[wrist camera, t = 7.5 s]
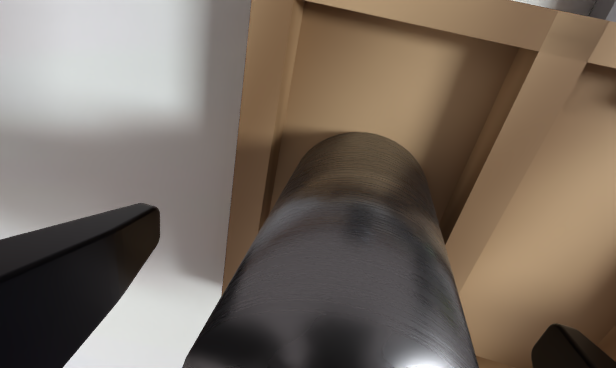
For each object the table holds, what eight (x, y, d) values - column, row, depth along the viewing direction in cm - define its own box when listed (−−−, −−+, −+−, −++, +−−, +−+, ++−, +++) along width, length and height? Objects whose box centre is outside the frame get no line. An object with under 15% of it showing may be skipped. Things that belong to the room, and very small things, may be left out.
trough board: (847, 80, 8) (980, 97, 6) (569, 383, 13) (596, 437, 12) (281, -39, 9) (257, -53, 7) (239, 282, 15) (219, 318, 13)
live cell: (451, 152, 10) (597, 434, 3) (402, 267, 12) (429, 585, 5) (304, 116, 10) (157, 300, 3) (281, 233, 12) (163, 489, 6)
